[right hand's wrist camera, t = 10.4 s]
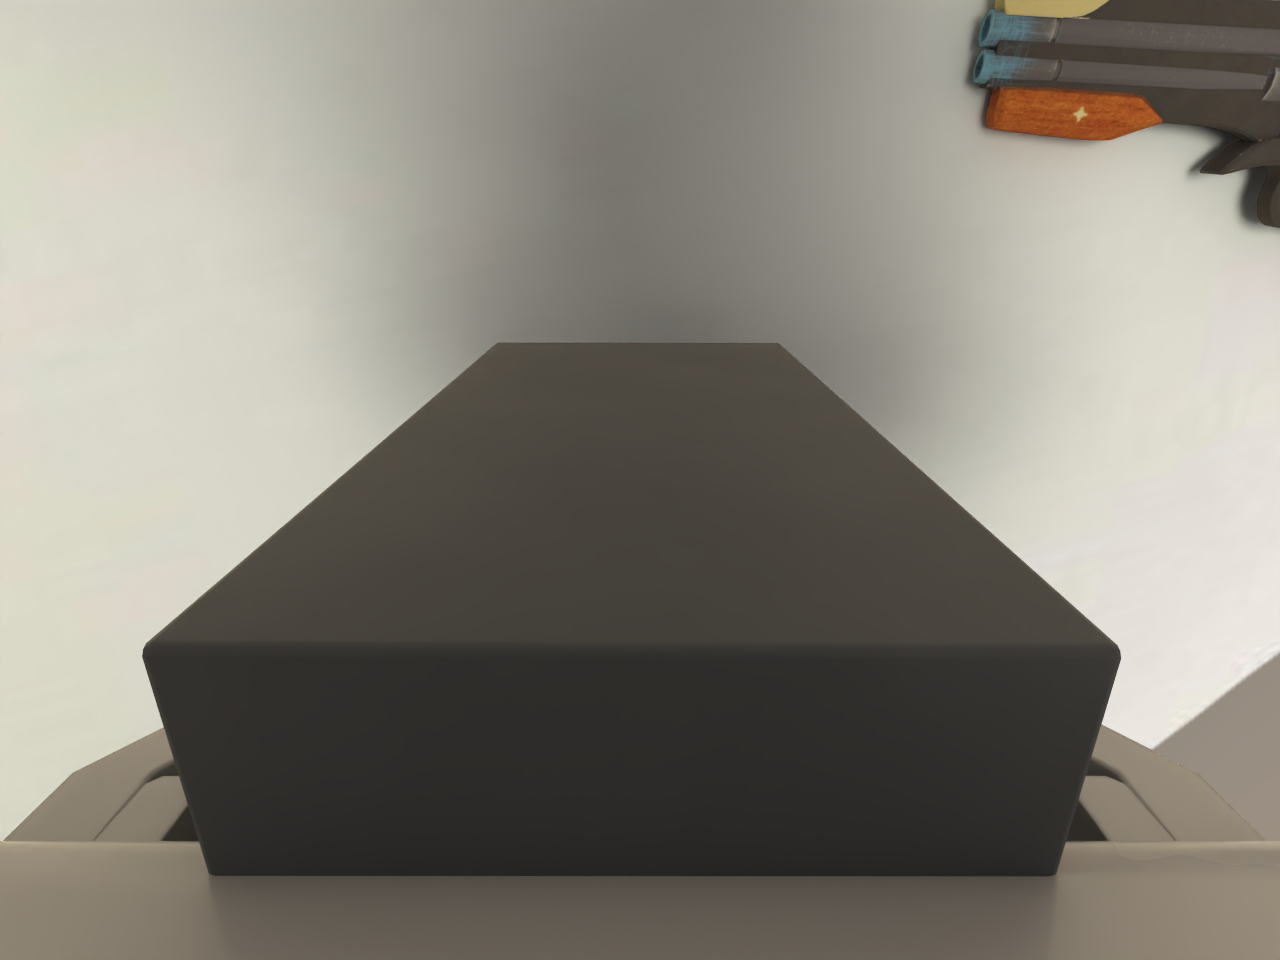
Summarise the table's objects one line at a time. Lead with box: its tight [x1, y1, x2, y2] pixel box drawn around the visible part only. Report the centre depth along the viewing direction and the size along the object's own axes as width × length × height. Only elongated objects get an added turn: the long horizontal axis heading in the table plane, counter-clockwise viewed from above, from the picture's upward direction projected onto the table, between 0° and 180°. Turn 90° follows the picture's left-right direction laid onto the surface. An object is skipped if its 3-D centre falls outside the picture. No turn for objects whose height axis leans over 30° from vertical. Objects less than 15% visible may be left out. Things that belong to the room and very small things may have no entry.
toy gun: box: [972, 0, 1280, 228], centre depth 22 cm, size 3×19×10 cm
